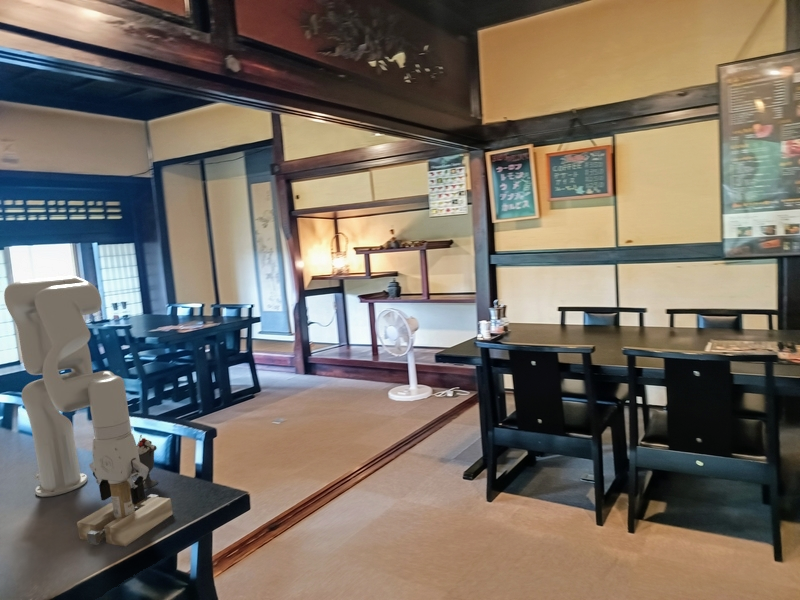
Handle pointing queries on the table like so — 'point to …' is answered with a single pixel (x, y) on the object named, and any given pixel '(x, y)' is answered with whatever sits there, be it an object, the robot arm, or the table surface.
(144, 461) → the sundae
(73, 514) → the table surface
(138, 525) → the slotted wooden block
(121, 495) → the sprinkles bottle
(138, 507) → the plunger
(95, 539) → the plunger
